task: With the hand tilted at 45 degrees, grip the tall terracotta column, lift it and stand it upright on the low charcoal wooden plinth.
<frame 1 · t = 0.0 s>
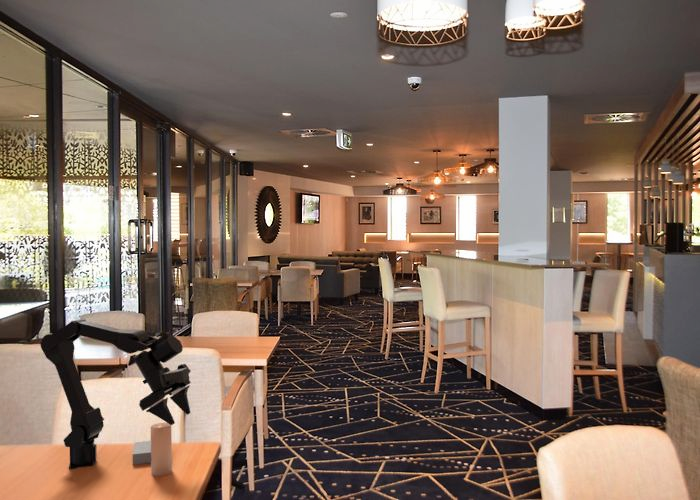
hand: (181, 418, 163), 15 cm above the table, tool tilted 35°, fingers open, 9 cm apart
terracotta column: (161, 472, 163), on the table
charcoal plinth: (151, 456, 175), on the table
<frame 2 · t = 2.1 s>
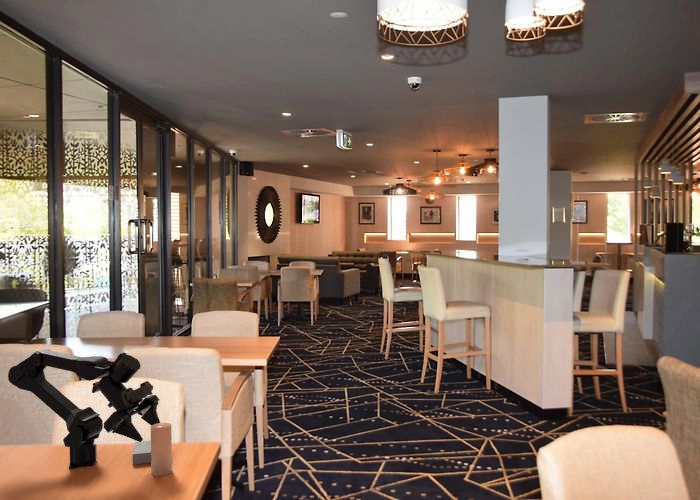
hand: (151, 435, 164), 10 cm above the table, tool tilted 45°, fingers open, 9 cm apart
nothing on the table moved.
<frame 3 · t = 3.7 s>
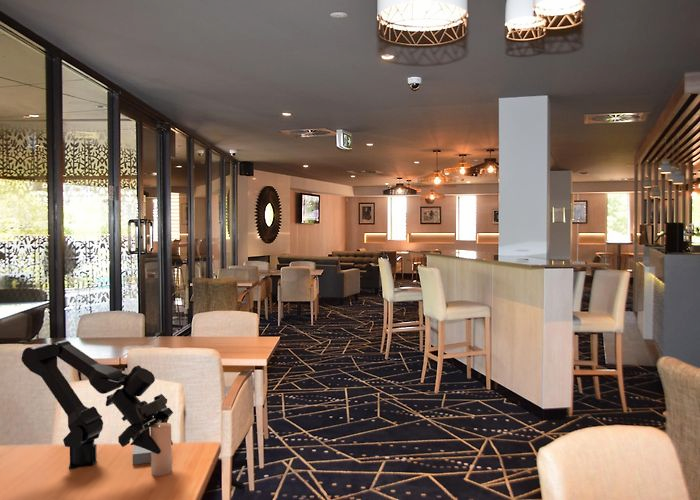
hand: (165, 449, 163), 7 cm above the table, tool tilted 45°, fingers closed on terracotta column, 5 cm apart
terracotta column: (161, 472, 163), on the table, touching gripper
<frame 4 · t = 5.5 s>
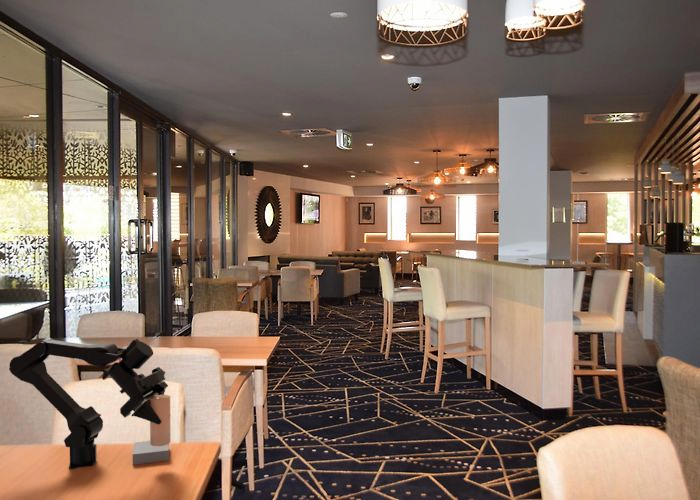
hand: (165, 419, 166), 13 cm above the table, tool tilted 45°, fingers closed on terracotta column, 5 cm apart
terracotta column: (160, 442, 167), point 7 cm above the table, touching gripper
when the fingers open (11 cm above the table, at t = 7.2 s): terracotta column drops 1 cm, resting on charcoal plinth.
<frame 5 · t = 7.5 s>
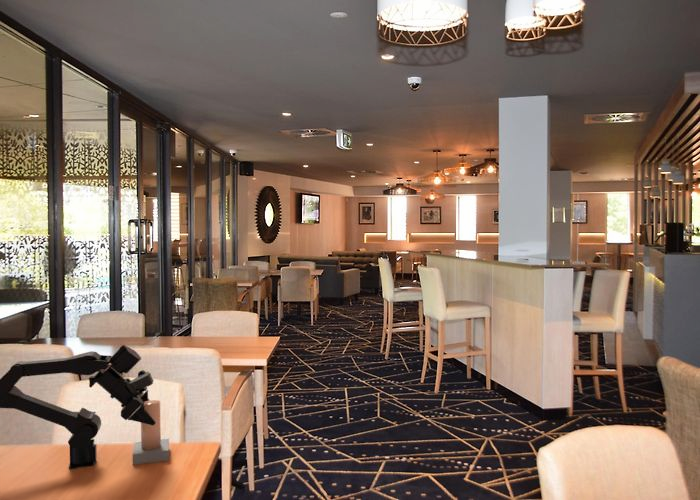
hand: (155, 419, 175), 11 cm above the table, tool tilted 45°, fingers open, 9 cm apart
terracotta column: (151, 446, 175), point 3 cm above the table, touching charcoal plinth
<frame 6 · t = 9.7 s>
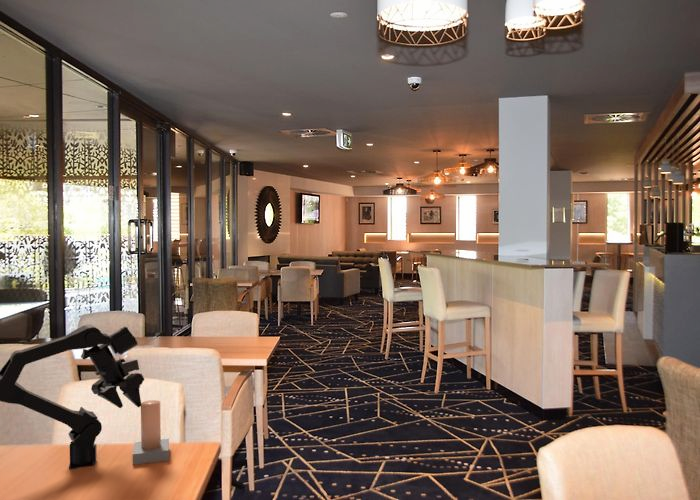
hand: (130, 406, 177), 14 cm above the table, tool tilted 25°, fingers open, 9 cm apart
nothing on the table moved.
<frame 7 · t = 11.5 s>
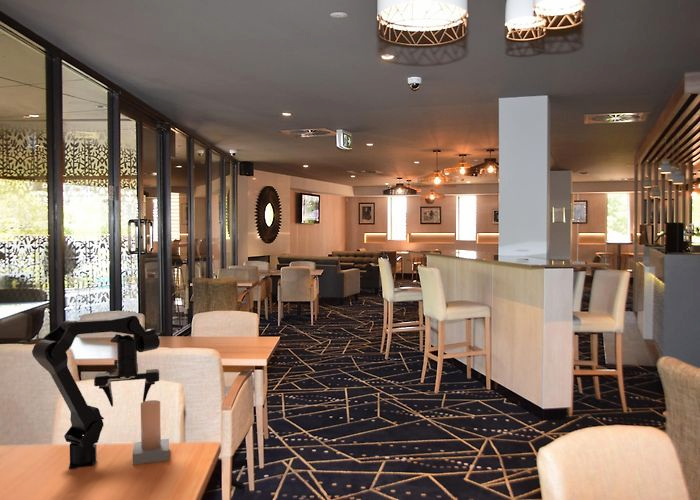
hand: (128, 404, 183), 13 cm above the table, tool pointing down, fingers open, 9 cm apart
nothing on the table moved.
at the end: terracotta column inside the target area on the charcoal plinth (0.1 cm from its centre), point 3.0 cm above the charcoal plinth's base; terracotta column tilted 0°; the gripper is holding nothing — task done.
